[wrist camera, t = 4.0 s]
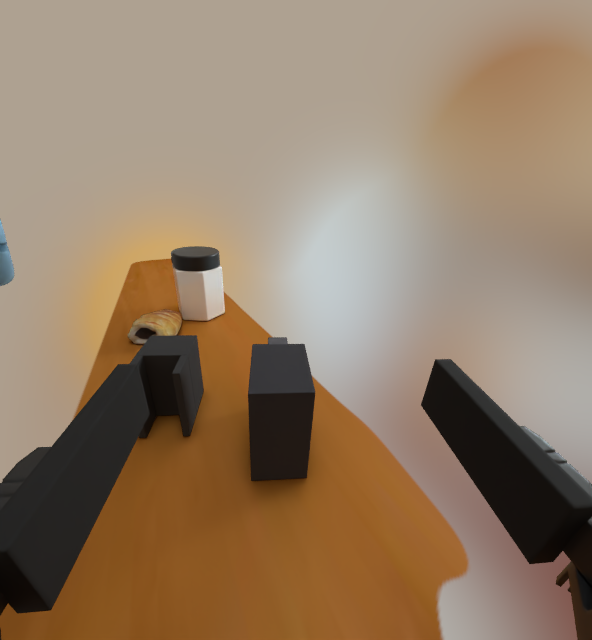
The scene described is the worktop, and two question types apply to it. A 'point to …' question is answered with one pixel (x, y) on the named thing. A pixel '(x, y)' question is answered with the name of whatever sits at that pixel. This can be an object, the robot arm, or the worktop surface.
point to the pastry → (155, 325)
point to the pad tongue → (280, 410)
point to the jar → (198, 282)
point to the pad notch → (171, 379)
